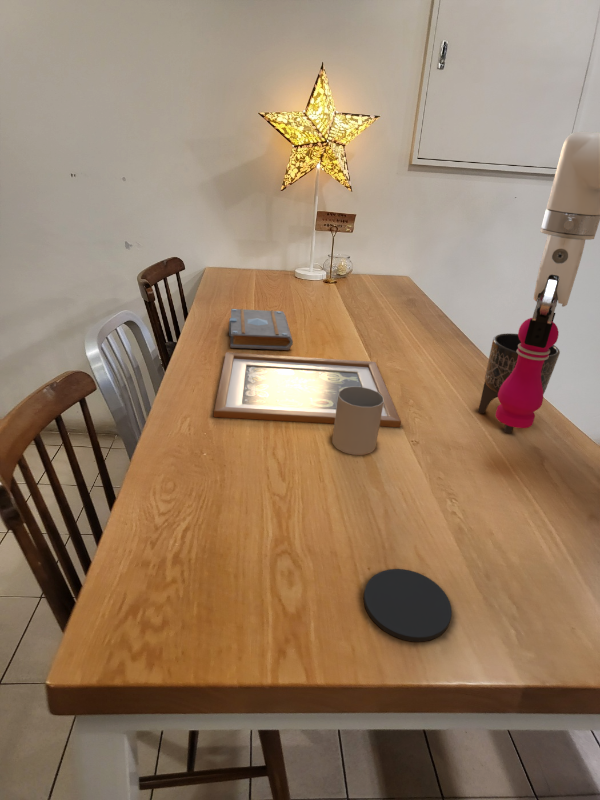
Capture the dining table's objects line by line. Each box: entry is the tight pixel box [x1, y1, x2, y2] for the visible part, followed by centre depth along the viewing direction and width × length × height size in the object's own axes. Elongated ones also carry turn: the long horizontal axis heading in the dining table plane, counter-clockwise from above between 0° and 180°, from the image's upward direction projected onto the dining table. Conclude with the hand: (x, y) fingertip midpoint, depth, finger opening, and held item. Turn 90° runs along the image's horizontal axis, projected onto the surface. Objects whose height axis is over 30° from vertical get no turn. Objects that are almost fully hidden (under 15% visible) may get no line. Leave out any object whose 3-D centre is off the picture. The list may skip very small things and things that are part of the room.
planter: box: [477, 333, 561, 434], centre depth 113 cm, size 13×13×18 cm
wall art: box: [213, 351, 402, 428], centre depth 122 cm, size 31×2×38 cm
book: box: [228, 308, 294, 351], centre depth 149 cm, size 21×16×5 cm
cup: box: [331, 387, 384, 456], centre depth 101 cm, size 8×8×10 cm
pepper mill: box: [495, 317, 559, 429], centre depth 90 cm, size 7×7×20 cm
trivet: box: [363, 568, 453, 643], centre depth 68 cm, size 11×11×1 cm
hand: (536, 338), depth 88 cm, fingers closed on pepper mill, 6 cm apart
